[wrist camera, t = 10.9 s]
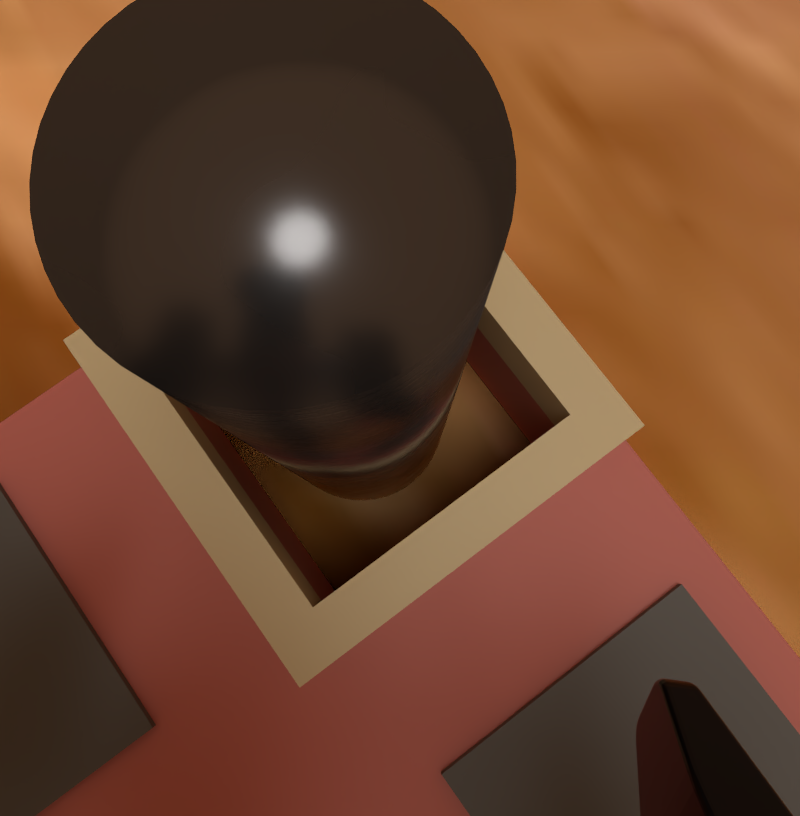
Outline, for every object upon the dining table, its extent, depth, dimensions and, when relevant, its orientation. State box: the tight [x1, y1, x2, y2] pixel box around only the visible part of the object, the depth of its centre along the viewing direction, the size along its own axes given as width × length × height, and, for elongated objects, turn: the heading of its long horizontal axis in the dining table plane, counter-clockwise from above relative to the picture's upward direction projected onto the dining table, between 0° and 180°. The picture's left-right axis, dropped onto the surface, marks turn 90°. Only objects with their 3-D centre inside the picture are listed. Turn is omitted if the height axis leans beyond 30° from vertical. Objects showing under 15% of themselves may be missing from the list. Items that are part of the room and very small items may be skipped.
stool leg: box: [30, 0, 516, 500], centre depth 13 cm, size 4×4×13 cm
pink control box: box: [0, 250, 800, 816], centre depth 16 cm, size 18×18×4 cm
